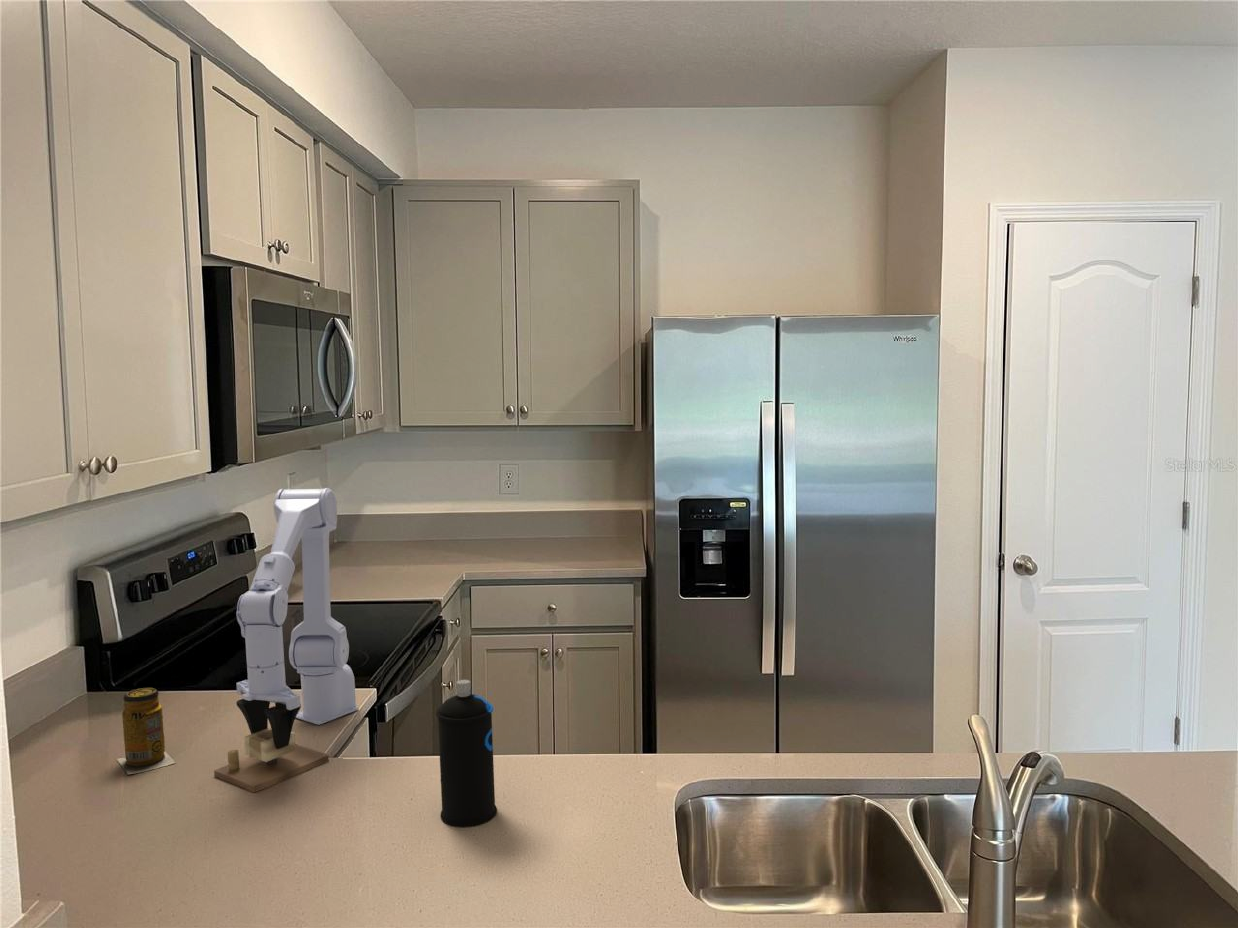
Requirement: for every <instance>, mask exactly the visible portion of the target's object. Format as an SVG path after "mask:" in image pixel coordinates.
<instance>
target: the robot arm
mask: <svg viewBox="0 0 1238 928" xmlns="http://www.w3.org/2000/svg"><path fill="white" fill-rule="evenodd" d="M335 495H336V494H335V493H334V491H332V489H331V488H329V487H324V488H305V489H303V488H298V489H297V488H296V489H295V488H294V489H292V488H291V489H289V488H288V489H286V488H280V489H279V490H277V493H276V494H275V495H274V498H273V513H274V516H275V521H276V523H277V525H276V529H275V533H274V538H273V539H272V540H273V541H272V545H271V550H270V552H269V553H265V554H264V555H263V556H262V557H261V559H260V561H259V564H258V566H257V568H256V572H255V574H254V577H253V580H252V582H251V585H250V588H249V589H248V591H246V592H245V593H243V594H241V595H240V596H239V598H238V601H237V605H236V612H235V613H236V614H235V615H236V621H237V623H238V624H239V627H240V633H241V637H242V638H244V639H245V640H244V641H245V655H246V656H245V657H246V668H247V669H246V671H247V672H246V673H247V679H244V680H242V681H238V682H236V694H237V695H241V696H242V698H241V699H239V700H237V701H236V706H237V708H238V709H239V710H240V711H241V713H242V714H243V715H242V716H244V719H245V720H246V723H247V726H248V729H249V732H250V734H253V733H256V732H259V731H262V730H264V729H267V728H269V727H268V725H270V727H271V729H272V735H273V741H274V744H275V747H276V749H280V748H283V747H285V746H288V745H289V741H290V736H291V732H293V727H294V723H295V721H296V719H299V720H302V721H305V722H307V723H311V724H315V725H322V724H324V723H328V722H330V721H333V720H335V719H338V718H341V717H343V716H346V715H348V714H350V713H354V712H356V711H358V710H359V709H360V708H359V706H357V700H356V699H357V697H356V685H355V684H356V683H355V680H356V679H355V676H354V673H353V670H352V668H351V666H350V665H348V664H347V662H348V660H349V655H350V654H349V652H350V644H349V639H348V637H347V629H346V626H344V625H343V624H342V623H341V622H339V621H337V620H336V619H334V618H333V617H332V616H331V615H332V613H331V612H332V611H331V578H330V577H331V576H330V575H331V574H330V572H331V571H330V533H331V532H332V531H335V530H336V529H337V526H338V525H337V524H338V506H337V505H338V504H337V503H338V501H337V497H336V496H335ZM300 541H301V554H302V555H301V562H302V594H303V595H302V596H303V597H302V599H303V604H302V605H303V606H302V607H303V621H301V622H300V623H299V624H297V625H296V626H295V627H294V628H293V629H292V631H291V632H290V633H291V634H290V643H289V649H288V659H289V664H290V665H291V666H292V667H293V669H296V673H297V674H300V686H301V689H300V690H301V695H300V694H297V693H296V692H294V690H292V689H291V688H290V687H289V686H288V685H287V683H286V681H287V680H286V667H285V656H284V654H285V653H284V652H285V651H284V637H283V624H284V623H285V620H286V619H287V614H288V603H289V594H288V591H289V587H290V584H291V581H292V578H293V576H294V572H295V569H296V566H295V563H294V561H293V560H292V558H293V557H294V554H295V552H296V550H297V548H298V545H299V543H300ZM271 703H274V705H275V706H271V707H270V705H271ZM301 703H302V705H301ZM301 707H302V710H301ZM300 710H301V711H300ZM268 722H269V723H268Z"/></svg>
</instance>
